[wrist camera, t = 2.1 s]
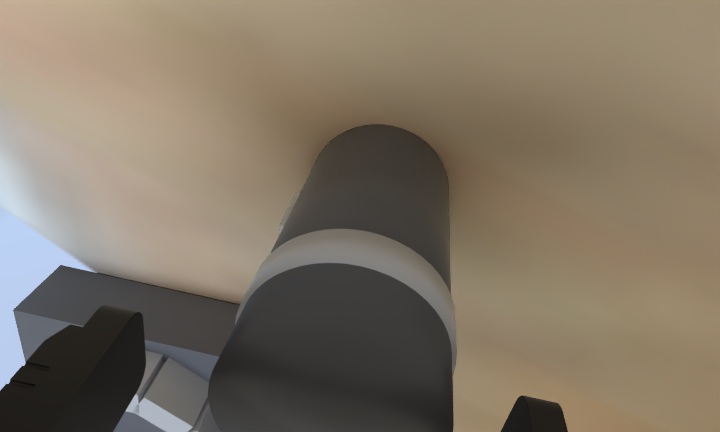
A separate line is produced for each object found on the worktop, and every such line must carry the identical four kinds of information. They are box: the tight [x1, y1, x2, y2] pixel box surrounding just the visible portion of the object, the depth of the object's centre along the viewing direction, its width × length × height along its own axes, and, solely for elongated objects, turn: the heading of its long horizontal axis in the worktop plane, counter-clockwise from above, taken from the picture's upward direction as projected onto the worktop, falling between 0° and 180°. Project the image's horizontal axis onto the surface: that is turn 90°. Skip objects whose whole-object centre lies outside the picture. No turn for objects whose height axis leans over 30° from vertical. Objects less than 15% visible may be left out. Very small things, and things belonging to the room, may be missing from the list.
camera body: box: [13, 265, 240, 432], centre depth 23 cm, size 14×10×6 cm
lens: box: [208, 125, 456, 432], centre depth 15 cm, size 5×5×10 cm
